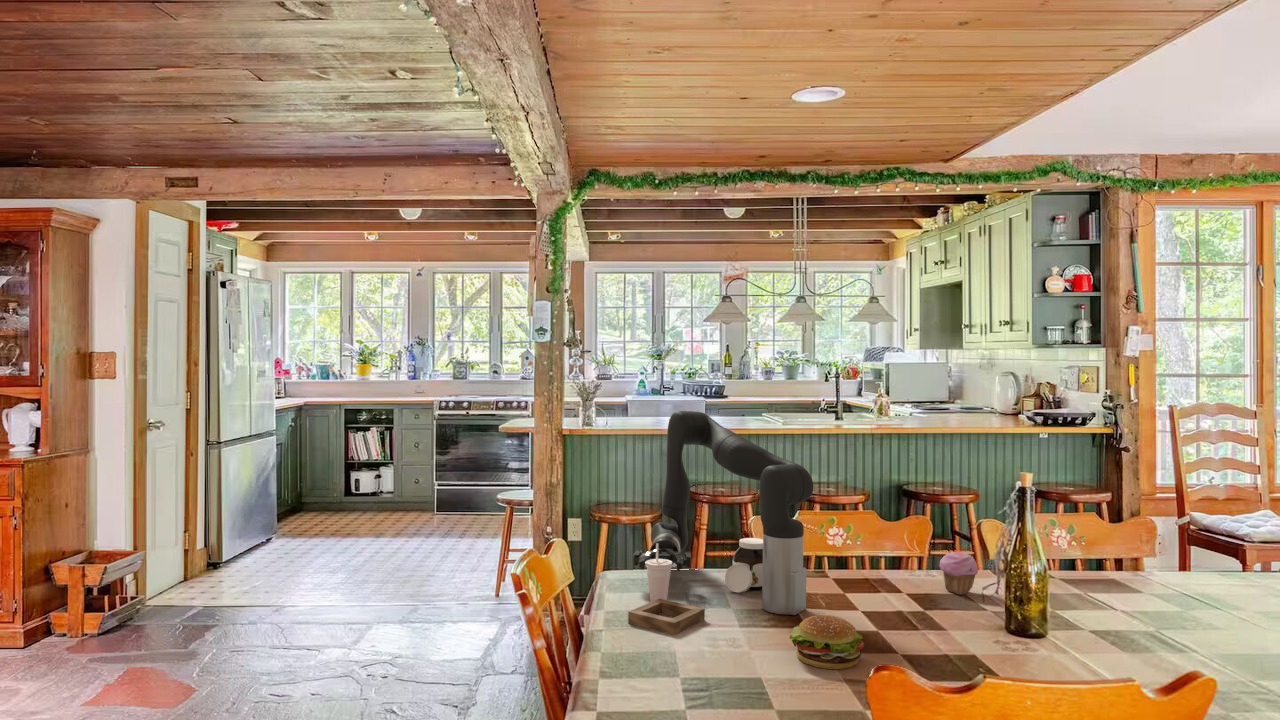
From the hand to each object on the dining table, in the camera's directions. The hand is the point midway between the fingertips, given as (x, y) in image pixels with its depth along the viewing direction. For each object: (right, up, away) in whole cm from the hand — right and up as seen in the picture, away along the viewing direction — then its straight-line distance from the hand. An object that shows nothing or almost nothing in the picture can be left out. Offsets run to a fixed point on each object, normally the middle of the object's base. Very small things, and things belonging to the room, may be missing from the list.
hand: (660, 565), depth 192 cm
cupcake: (+75, -9, +8) cm, 76 cm away
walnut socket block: (+1, -8, -17) cm, 19 cm away
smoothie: (-1, -8, -4) cm, 9 cm away
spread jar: (+22, -8, +9) cm, 26 cm away
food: (+31, -9, -37) cm, 49 cm away
